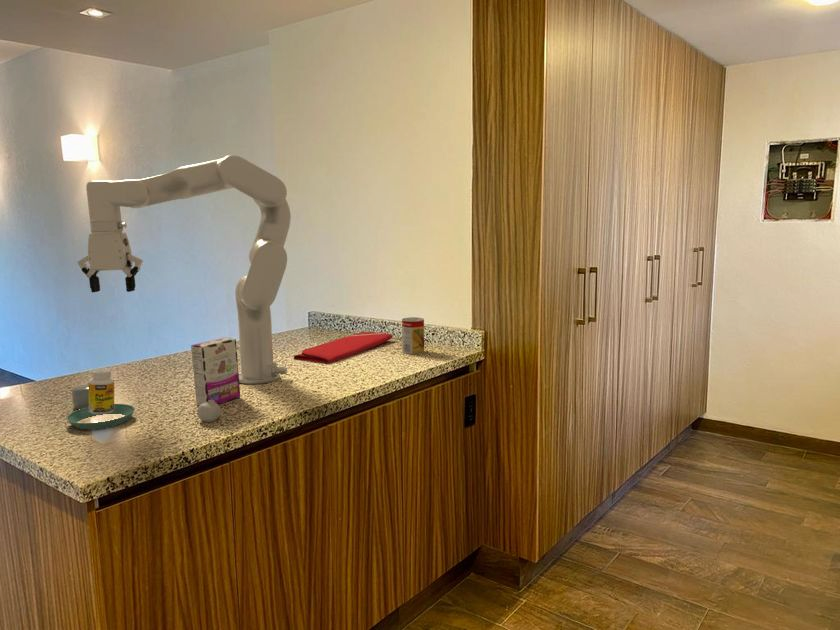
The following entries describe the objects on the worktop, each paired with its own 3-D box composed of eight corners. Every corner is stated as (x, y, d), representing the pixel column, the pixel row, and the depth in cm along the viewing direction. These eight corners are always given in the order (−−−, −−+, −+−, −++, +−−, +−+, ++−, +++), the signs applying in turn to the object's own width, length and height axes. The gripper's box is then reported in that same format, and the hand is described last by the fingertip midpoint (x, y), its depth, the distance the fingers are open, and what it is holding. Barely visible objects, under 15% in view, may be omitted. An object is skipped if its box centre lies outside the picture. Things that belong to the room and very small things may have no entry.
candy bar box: (228, 395, 171) (224, 336, 168) (241, 397, 168) (237, 338, 165) (194, 405, 161) (190, 344, 159) (207, 408, 159) (203, 346, 156)
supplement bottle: (92, 417, 145) (92, 374, 144) (85, 410, 149) (85, 369, 148) (117, 413, 149) (117, 372, 147) (110, 407, 153) (110, 366, 151)
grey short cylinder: (109, 402, 165) (107, 384, 165) (93, 410, 158) (91, 391, 158) (84, 401, 166) (82, 383, 165) (67, 410, 159) (65, 391, 158)
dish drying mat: (292, 360, 212) (292, 350, 212) (360, 339, 248) (360, 330, 247) (329, 365, 205) (328, 354, 204) (393, 342, 240) (393, 333, 240)
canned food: (428, 351, 222) (428, 318, 220) (416, 355, 216) (416, 321, 214) (410, 348, 226) (409, 316, 224) (398, 353, 220) (397, 319, 218)
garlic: (226, 420, 150) (225, 399, 149) (205, 426, 146) (204, 404, 145) (213, 415, 153) (212, 394, 153) (193, 420, 149) (191, 399, 149)
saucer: (59, 436, 141) (58, 425, 140) (76, 416, 155) (75, 406, 154) (130, 430, 145) (129, 419, 144) (140, 411, 159) (139, 401, 158)
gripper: (145, 226, 168) (151, 289, 171) (83, 228, 168) (90, 290, 171) (131, 227, 160) (137, 292, 163) (66, 228, 161) (74, 293, 164)
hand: (113, 291), depth 167 cm, fingers open, 9 cm apart
